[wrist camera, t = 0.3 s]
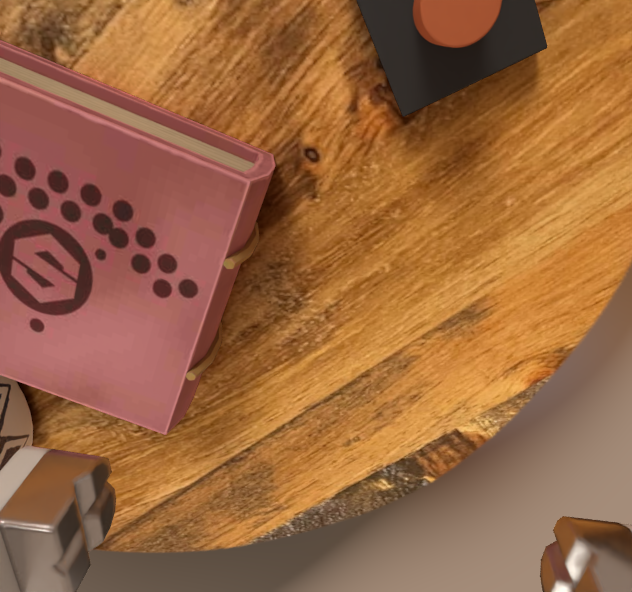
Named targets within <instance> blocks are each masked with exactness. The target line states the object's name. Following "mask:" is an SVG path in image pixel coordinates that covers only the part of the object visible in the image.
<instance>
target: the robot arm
mask: <svg viewBox="0 0 632 592" xmlns="http://www.w3.org/2000/svg"><path fill="white" fill-rule="evenodd" d="M111 472H112V471H111V466H110V462H109V459H108V458H105V457H99V456H93V455H87V454H80V453H74V452H68V451H62V450H55V449H47V448H40V447H33V446H25V447H23V448H21V449H20V450H18V451H17V452H16V453H15V454H14V455H13V456H12V458H11V459H10V460H9V461H8V462H7V463H6V465H5V466H4V467H3V468H2V469H1V470H0V592H76V591H77V589H78V588H79V586H80V584H81V582H82V580H83V578H84V576H85V575H86V573H87V571H88V569H89V567H90V559H89V553H88V552H89V551H91V550H92V549H94V548H95V547H96V546H98V545H99V544H101V543H102V542H103V541H104V539H105V537H106V535H107V533H108V531H109V529H110V526H111V523H112V520H113V516H114V513H115V505H116V495H115V489H114V488H113V487H112V486H111V485H110V484H109V483H108V482H107V479H108V477H109V476H110V474H111ZM553 531H554V533H555V537H556V540H557V541H555V542H553V543H552V544H550V545H548V546H546V548H545V551H544V554H543V556H542V559H541V571H540V572H541V573H540V577H541V584H542V590H543V592H632V525H629V524H620V523H616V522H608V521H599V520H591V519H582V518H574V517H564V516H563V517H562V518H560V519H559V520H558V521H557V523H556V525H555V527H554V530H553Z"/></svg>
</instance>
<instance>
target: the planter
mask: <svg viewBox="0 0 632 592" xmlns="http://www.w3.org/2000/svg"><path fill="white" fill-rule="evenodd" d="M32 442H33V424H32V418H31V413H30V410H29V407H28V404H27V401H26V399H25V396H24V394H23V393H22V391H21V389H20V387H19V385H18V383H17V382H16V381H15V380H12V379H10V378H7V377H4V376H1V375H0V470H1V469H2V468H3V467H4V466H5V465H6V463H7V462H8V461H9V460H10V459H11V458H12V456H13V455H14V454H15V453H16V452H17V451H18V450H20V449H21V448H23V447H25V446H32Z"/></svg>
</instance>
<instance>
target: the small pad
mask: <svg viewBox="0 0 632 592" xmlns="http://www.w3.org/2000/svg"><path fill="white" fill-rule="evenodd" d="M357 3H358V6H359V8H360V11H361V13H362V16H363V18H364V21H365V23H366V26H367V28H368V31H369V33H370V36H371V38H372V41H373V43H374V46H375V48H376V51H377V53H378V56H379V58H380V61H381V63H382V66H383V68H384V71H385V73H386V76H387V79H388V81H389V84H390V86H391V89H392V91H393V94H394V96H395V99H396V101H397V104H398V106H399V109H400V111H401V114H402V116H403V117H404V116H406V115H408V114H410V113H413V112H415V111H417V110H419V109H421V108H423V107H425V106H427V105H429V104H431V103H433V102H435V101H438V100H440V99H442V98H444V97H446V96H448V95H450V94H452V93H454V92H456V91H458V90H460V89H463V88H465V87H467V86H469V85H471V84H473V83H475V82H477V81H479V80H481V79H483V78H485V77H488V76H490V75H492V74H494V73H496V72H498V71H500V70H502V69H504V68H506V67H508V66H511V65H513V64H515V63H517V62H519V61H521V60H523V59H525V58H527V57H529V56H531V55H533V54H536V53H538V52H540V51H542V50H544V49H546V48H547V44H546V40H545V36H544V33H543V29H542V25H541V22H540V18H539V14H538V10H537V7H536V3H535V0H357Z"/></svg>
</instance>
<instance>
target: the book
mask: <svg viewBox="0 0 632 592" xmlns="http://www.w3.org/2000/svg"><path fill="white" fill-rule="evenodd" d="M274 169H275V161H274V157H273V154H271V153H268V152H266V151H264V150H261V149H259V148H256V147H254V146H252V145H249V144H247V143H245V142H242V141H240V140H237V139H235V138H233V137H230V136H228V135H226V134H223V133H221V132H218V131H216V130H214V129H211V128H209V127H206V126H204V125H202V124H199V123H197V122H195V121H192V120H190V119H187V118H185V117H183V116H180V115H178V114H175V113H173V112H171V111H168V110H166V109H164V108H161V107H159V106H156V105H154V104H152V103H149V102H147V101H145V100H142V99H140V98H137V97H135V96H133V95H130V94H128V93H125V92H123V91H121V90H118V89H116V88H114V87H111V86H109V85H106V84H104V83H102V82H99V81H97V80H94V79H92V78H90V77H87V76H85V75H83V74H80V73H78V72H75V71H73V70H71V69H68V68H66V67H64V66H61V65H59V64H56V63H54V62H52V61H49V60H47V59H44V58H42V57H40V56H37V55H35V54H33V53H30V52H28V51H25V50H23V49H21V48H18V47H16V46H14V45H11V44H9V43H6V42H4V41H2V40H0V375H1V376H4V377H7V378H10V379H12V380H15V381H18V382H21V383H24V384H26V385H29V386H32V387H35V388H37V389H40V390H43V391H46V392H48V393H51V394H54V395H57V396H59V397H62V398H65V399H68V400H71V401H73V402H76V403H79V404H82V405H84V406H87V407H90V408H93V409H95V410H98V411H101V412H104V413H106V414H109V415H112V416H115V417H118V418H120V419H123V420H126V421H129V422H131V423H134V424H137V425H140V426H142V427H145V428H148V429H151V430H154V431H156V432H159V433H162V434H165V435H166V434H167V433H168V432H169V431H170V430H171V429H172V428H173V427H174V426H175V425H176V424H177V423H178V422H179V421H180V420H181V419H182V418H183V417H184V416H185V414H186V412H187V410H188V408H189V406H190V404H191V402H192V400H193V398H194V395H195V392H196V389H197V386H198V384H199V381H200V378H201V375H202V372H203V371H204V370H205V369H206V368H207V367H208V366H209V365H210V364H211V363H212V362H213V360H214V358H215V356H216V354H217V352H218V350H219V348H220V346H221V343H222V323H221V322H220V321H221V319H222V316H223V313H224V310H225V307H226V305H227V302H228V299H229V296H230V293H231V290H232V288H233V285H234V282H235V279H236V276H237V273H238V271H239V268H240V265H241V263H242V262H243V261H245V260H246V259H248V258H249V257H251V255H252V253H253V251H254V250H255V248H256V246H257V244H258V242H259V229H258V224H257V222H256V220H257V217H258V214H259V211H260V209H261V206H262V203H263V200H264V197H265V194H266V192H267V189H268V186H269V183H270V180H271V177H272V175H273V172H274Z"/></svg>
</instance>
